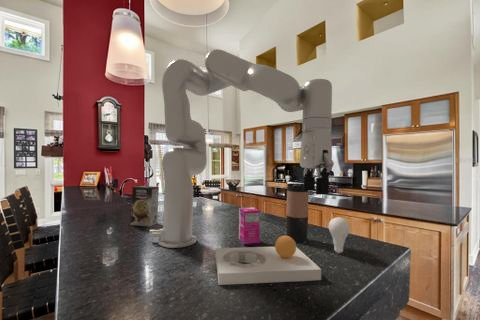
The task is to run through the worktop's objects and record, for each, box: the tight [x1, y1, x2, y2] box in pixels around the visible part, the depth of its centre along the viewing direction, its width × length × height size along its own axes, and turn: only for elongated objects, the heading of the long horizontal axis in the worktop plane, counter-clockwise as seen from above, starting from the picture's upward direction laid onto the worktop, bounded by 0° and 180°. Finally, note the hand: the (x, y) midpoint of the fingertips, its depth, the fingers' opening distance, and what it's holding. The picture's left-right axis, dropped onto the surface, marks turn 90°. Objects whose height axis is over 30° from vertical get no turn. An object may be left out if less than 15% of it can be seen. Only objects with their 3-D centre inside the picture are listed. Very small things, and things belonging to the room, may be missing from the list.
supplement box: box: [238, 206, 261, 247], centre depth 82 cm, size 6×6×12 cm
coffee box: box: [130, 185, 160, 227], centre depth 103 cm, size 9×6×16 cm
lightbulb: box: [328, 216, 351, 254], centre depth 74 cm, size 6×6×11 cm
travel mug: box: [285, 182, 309, 244], centre depth 87 cm, size 8×8×20 cm
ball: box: [274, 235, 297, 258], centre depth 63 cm, size 6×6×6 cm
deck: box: [214, 246, 322, 286], centre depth 62 cm, size 24×16×2 cm, turn 99°
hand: (315, 191), depth 65 cm, fingers open, 7 cm apart
